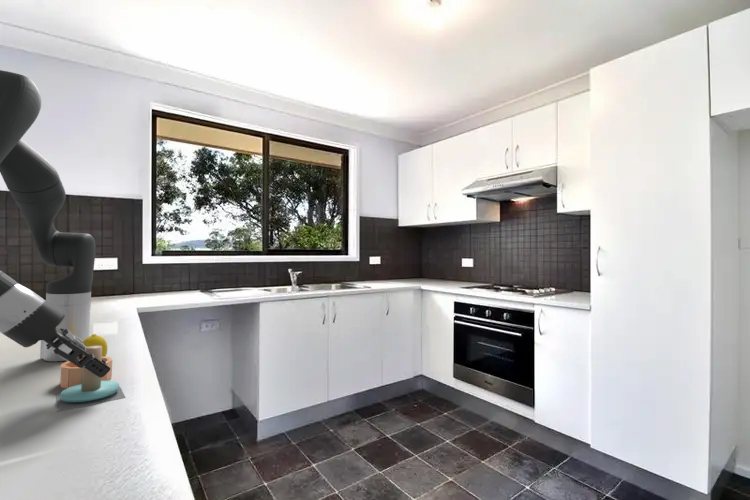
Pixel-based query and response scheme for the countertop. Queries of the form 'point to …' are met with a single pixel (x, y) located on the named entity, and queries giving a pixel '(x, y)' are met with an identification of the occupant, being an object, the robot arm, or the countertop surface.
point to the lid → (90, 384)
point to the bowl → (79, 373)
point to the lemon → (96, 343)
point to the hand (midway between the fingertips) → (103, 369)
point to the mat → (70, 405)
